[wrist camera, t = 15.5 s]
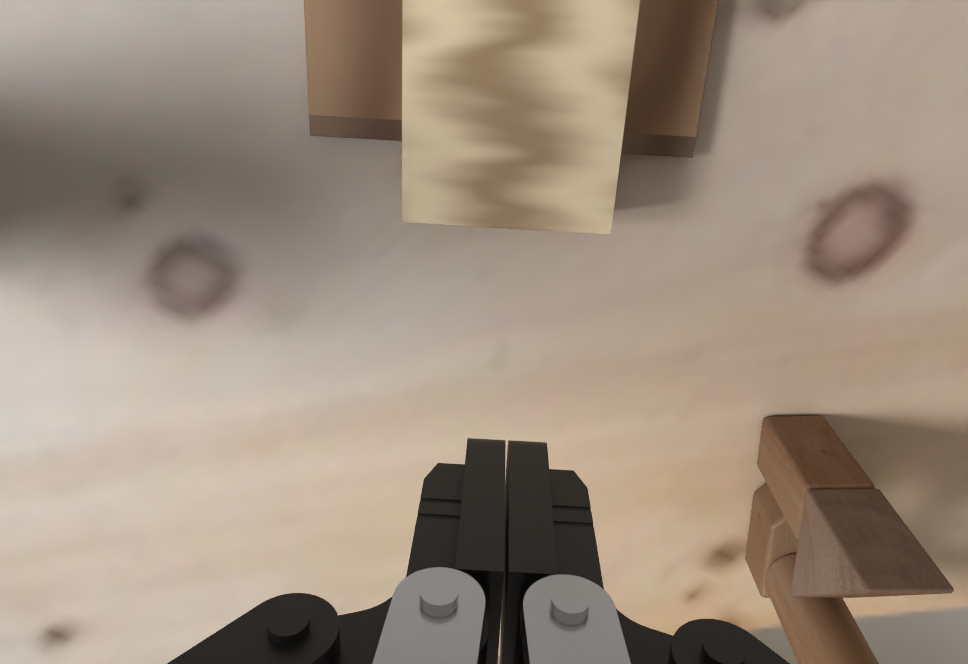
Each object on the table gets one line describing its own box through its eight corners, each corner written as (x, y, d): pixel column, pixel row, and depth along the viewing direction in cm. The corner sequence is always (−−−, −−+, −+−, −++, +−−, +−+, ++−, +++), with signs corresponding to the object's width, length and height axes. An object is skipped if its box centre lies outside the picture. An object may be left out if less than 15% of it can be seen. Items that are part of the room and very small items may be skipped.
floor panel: (315, 132, 37) (310, 135, 37) (307, -44, 34) (301, -45, 33) (688, 153, 37) (692, 157, 36) (716, -22, 34) (722, -22, 33)
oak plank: (401, 222, 35) (402, -179, 29) (410, 204, 38) (413, -161, 32) (610, 234, 35) (660, -165, 28) (603, 216, 38) (646, -149, 31)
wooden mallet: (824, 413, 43) (1015, 665, 27) (800, 557, 47) (951, 851, 31) (760, 414, 43) (911, 665, 27) (742, 558, 48) (862, 850, 31)
